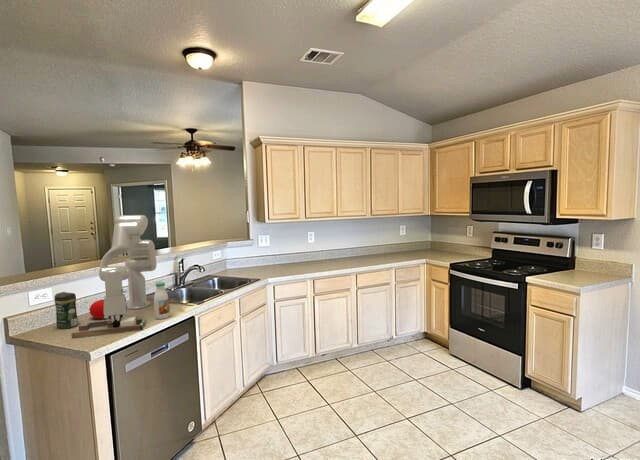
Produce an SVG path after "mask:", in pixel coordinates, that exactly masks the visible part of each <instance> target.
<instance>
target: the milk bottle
mask: <svg viewBox="0 0 640 460" xmlns="http://www.w3.org/2000/svg"><path fill="white" fill-rule="evenodd" d="M165 285H166V284H165V282H164V281H159V282H155V287H156V289H155V293H154V296H153V310H154V311H153V313H154V319H156V320H165V319H167V318H169V317H170V304H169V303H170V302H169V294H168V293H167V290H166V288H165Z"/></svg>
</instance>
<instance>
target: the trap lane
mask: <svg viewBox="0 0 640 460" xmlns="http://www.w3.org/2000/svg"><path fill="white" fill-rule="evenodd" d="M135 317H136V325H134V326H126V327H121V326H119V327H117V328H114V327H113V321H112V320H110V319H109V320H101V321H93V322H88V323H87V324H85V325H79V326H78V331H76V332H71V339H80V338H88V337H96V336H103V335H110V334H111V335H112V333H113V334H119V333H127V332H136V331H142V330H143V329H144V327H145V325H146V324H147V322H146V318H138V317H137V316H135ZM122 319H123V318H121V319H120V322H121V320H122ZM99 327H107V328H104V329H94V330H89V329H91V328H99Z"/></svg>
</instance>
